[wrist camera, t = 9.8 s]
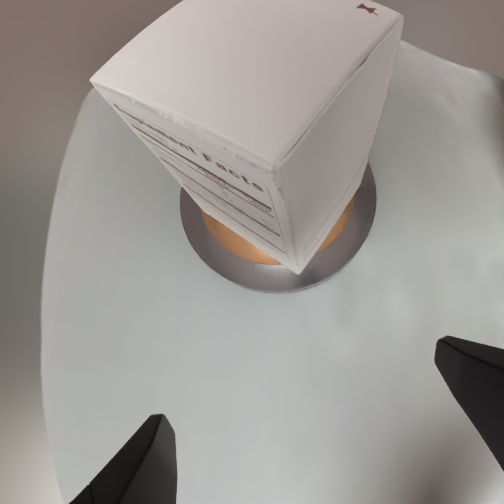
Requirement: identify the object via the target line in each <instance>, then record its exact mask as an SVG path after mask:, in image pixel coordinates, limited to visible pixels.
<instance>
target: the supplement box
mask: <svg viewBox="0 0 504 504" xmlns="http://www.w3.org/2000/svg"><path fill="white" fill-rule="evenodd" d="M403 22H404V17H403V15H401V14H400V13H398V12H396V11H394V10H392V9H390V8H387V7H385V6H383V5H380V4H378V3H375V2H372V1H370V0H183V1H182V2H180V3H179V4H177V5H176V6H174V7H173V8H172V9H170V10H169V11H167V12H166V13H165V14H164V15H162V16H161V17H159V18H158V19H157V20H156V21H154V22H153V23H152V24H150V25H149V26H148V27H147V28H145V29H144V30H143V31H142V32H140V33H139V34H138V35H137V36H136V37H134V38H133V39H132V40H131V41H130V42H129V43H128V44H126V45H125V46H124V47H123V48H122V49H121V50H120V51H119V52H118V53H116V54H115V55H114V56H113V57H112V58H111V59H110V60H109V61H108V62H107V63H106V64H104V65H103V66H102V67H101V69H99V71H97V72H96V73H95V74H94V75H93V76H92V77H91V79H90V82H91V83H92V84H93V86H94V87H95V88H96V89H97V90H98V92H99V93H100V94H101V95H102V96H103V97H104V99H105V100H106V101H107V102H108V103H109V104H110V105H111V106H112V107H113V109H114V110H115V111H116V112H117V113H118V114H119V115H120V116H121V118H122V119H123V120H124V121H125V122H126V124H127V125H128V126H129V127H130V128H131V129H132V130H133V131H134V132H135V134H136V135H137V136H138V137H139V138H140V139H141V140H142V141H143V143H144V144H145V145H146V146H147V147H148V148H149V149H150V150H151V151H152V152H153V154H154V155H155V156H156V157H157V158H158V159H159V160H160V161H161V163H162V164H163V165H164V166H165V167H166V168H167V169H168V171H169V172H170V173H171V174H172V175H173V176H174V178H175V179H176V180H177V181H178V182H179V183H180V184H181V186H182V187H183V188H184V189H185V190H186V191H187V193H188V194H189V195H190V196H191V197H192V198H193V200H194V201H195V202H196V203H197V204H198V205H199V206H200V208H201V209H202V210H203V211H204V212H205V213H207V214H209V215H210V216H212V217H213V218H215V219H216V220H218V221H219V222H221V223H222V224H224V225H225V226H227V227H228V228H230V229H231V230H232V231H234V232H235V233H237V234H238V235H240V236H241V237H243V238H244V239H246V240H247V241H249V242H250V243H252V244H253V245H255V246H256V247H257V248H259V249H260V250H262V251H263V252H265V253H266V254H268V255H269V256H271V257H272V258H274V259H275V260H277V261H278V262H279V263H281V264H282V265H284V266H285V267H287V268H288V269H290V270H291V271H293V272H294V273H296V274H300V273H301V272H302V271H303V269H304V268H305V267H306V265H307V264H308V263H309V261H310V260H311V258H312V257H313V256H314V254H315V253H316V251H317V250H318V249H319V247H320V246H321V244H322V243H323V241H324V240H325V238H326V237H327V235H328V234H329V232H330V231H331V229H332V228H333V226H334V225H335V223H336V222H337V220H338V219H339V217H340V216H341V214H342V213H343V211H344V209H345V208H346V206H347V205H348V203H349V202H350V200H351V199H352V197H353V195H354V194H355V192H356V190H357V189H358V187H359V186H360V184H361V180H362V177H363V174H364V171H365V168H366V165H367V162H368V159H369V155H370V152H371V149H372V146H373V143H374V139H375V136H376V132H377V129H378V126H379V122H380V119H381V115H382V111H383V108H384V104H385V100H386V97H387V93H388V89H389V85H390V81H391V77H392V73H393V69H394V65H395V60H396V56H397V52H398V47H399V42H400V37H401V32H402V27H403Z"/></svg>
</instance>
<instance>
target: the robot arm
mask: <svg viewBox="0 0 504 504" xmlns="http://www.w3.org/2000/svg"><path fill="white" fill-rule="evenodd" d="M434 360H435V364H436V366H437V368H438V370H439V371H440V373H441V375H442V377H443V378H444V380H445V382H446V384H447V385H448V387H449V389H450V391H451V392H452V394H453V396H454V397H455V399H456V400H457V402H458V403H459V405H460V406H461V407H462V409H463V410H464V412H465V413H466V414H467V416H468V417H469V419H470V420H471V422H472V423H473V425H474V426H475V428H476V429H477V430H478V432H479V433H480V435H481V436H482V438H483V439H484V441H485V442H486V444H487V446H488V447H489V449H490V450H491V452H492V453H493V455H494V456H495V458H496V460H497V461H498V463H499V464H500V466H501V468H502V469H503V471H504V349H501V348H497V347H493V346H488V345H484V344H480V343H476V342H472V341H468V340H464V339H460V338H456V337H452V336H445V337H443V338H440V339H439V340H438V341H437V344H436V351H435V358H434ZM176 494H177V461H176V443H175V433H174V430H173V428H172V427H171V425H170V423H169V421H168V420H167V418H166V416H165V415H164V414H153V415H151V416H150V417H149V418H148V419H147V420H146V421H145V422H144V423H143V424H142V426H141V427H140V428H139V429H138V430H137V431H136V432H135V433H134V435H133V436H132V437H131V438H130V439H129V440H128V441H127V442H126V444H125V445H124V446H123V447H122V448H121V449H120V450H119V451H118V452H117V454H116V455H115V456H114V457H113V458H112V459H111V460H110V461H109V462H108V464H107V465H106V466H105V467H104V468H103V469H102V470H101V471H100V472H99V473H98V474H97V476H96V477H95V478H94V479H93V480H92V481H91V482H90V483H89V485H87V486H86V487H85V488H84V489H83V490H82V492H81V493H80V494H79V495H78V496H77V497H76V498H75V499H74V500H73V501H71V502H70V503H69V504H176Z"/></svg>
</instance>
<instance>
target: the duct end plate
mask: <svg viewBox="0 0 504 504" xmlns="http://www.w3.org/2000/svg"><path fill="white" fill-rule="evenodd" d="M375 209H376V186H375V182H374V177H373V174H372V171H371V168H370V166H369V163H368V162H367V165H366V168H365V171H364V174H363V177H362V180H361V184H360V186H359V187H358V189H357V190H356V192H355V194H354V195H353V197H352V199H351V200H350V202H349V203H348V205H347V206H346V208H345V209H344V211H343V213H342V214H341V216H340V217H339V219H338V220H337V222H336V223H335V225H334V226H333V228H332V229H331V231H330V232H329V234H328V235H327V237H326V238H325V240H324V241H323V243H322V244H321V246H320V247H319V249H318V250H317V251H316V253H315V254H314V256H313V257H312V258H311V260H310V261H309V263H308V264H307V265H306V267H305V268H304V269H303V271H302V272H301V273H300V274H296V273H294V272H293V271H291V270H290V269H288V268H287V267H285V266H284V265H282V264H281V263H279V262H278V261H277V260H275V259H274V258H272V257H271V256H269V255H268V254H266V253H265V252H263V251H262V250H260V249H259V248H257V247H256V246H255V245H253V244H252V243H250V242H249V241H247V240H246V239H244V238H243V237H241V236H240V235H238V234H237V233H235V232H234V231H232V230H231V229H230V228H228V227H227V226H225V225H224V224H222V223H221V222H219V221H218V220H216V219H215V218H213V217H212V216H210V215H209V214H207V213H205V212H204V211H203V210H202V209H201V208H200V206H199V205H198V204H197V203H196V202H195V201H194V200H193V198H192V197H191V196H190V195H189V194H188V193H187V191H186V190H185V189H184V188H183V187H182V189H181V195H180V211H181V219H182V223H183V227H184V230H185V233H186V235H187V238H188V240H189V242H190V243H191V245H192V247H193V249H194V250H195V251H196V253H197V254H198V255H199V257H200V258H201V259H202V260H203V261H204V262H205V263H206V264H207V265H208V266H209V267H210V268H211V269H213V270H214V271H216V272H217V273H218V274H220V275H221V276H223V277H224V278H226V279H228V280H229V281H231V282H233V283H235V284H237V285H239V286H242V287H244V288H247V289H250V290H254V291H259V292H264V293H276V294H280V293H292V292H297V291H302V290H306V289H309V288H311V287H314V286H317V285H319V284H321V283H323V282H325V281H327V280H329V279H330V278H331V277H333V276H334V275H336V274H337V273H339V272H340V271H341V270H342V269H343V268H344V267H345V266H346V265H347V264H348V263H349V262H350V261H351V260H352V258H353V257H354V256H355V255H356V253H357V252H358V250H359V249H360V248H361V246H362V244H363V243H364V241H365V239H366V237H367V236H368V233H369V231H370V228H371V226H372V223H373V219H374V215H375Z"/></svg>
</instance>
